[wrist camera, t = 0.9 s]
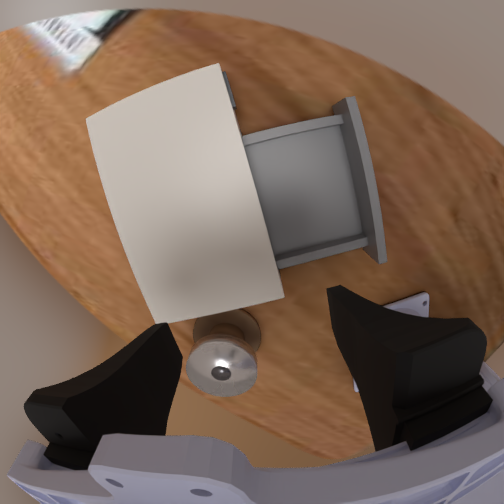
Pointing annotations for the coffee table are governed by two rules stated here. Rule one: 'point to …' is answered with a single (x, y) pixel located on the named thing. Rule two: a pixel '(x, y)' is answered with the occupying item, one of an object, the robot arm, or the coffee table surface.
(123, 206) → the player
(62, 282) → the coffee table surface
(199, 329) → the stand
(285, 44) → the coffee table surface
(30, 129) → the coffee table surface
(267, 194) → the tray
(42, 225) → the coffee table surface
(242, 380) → the disc
